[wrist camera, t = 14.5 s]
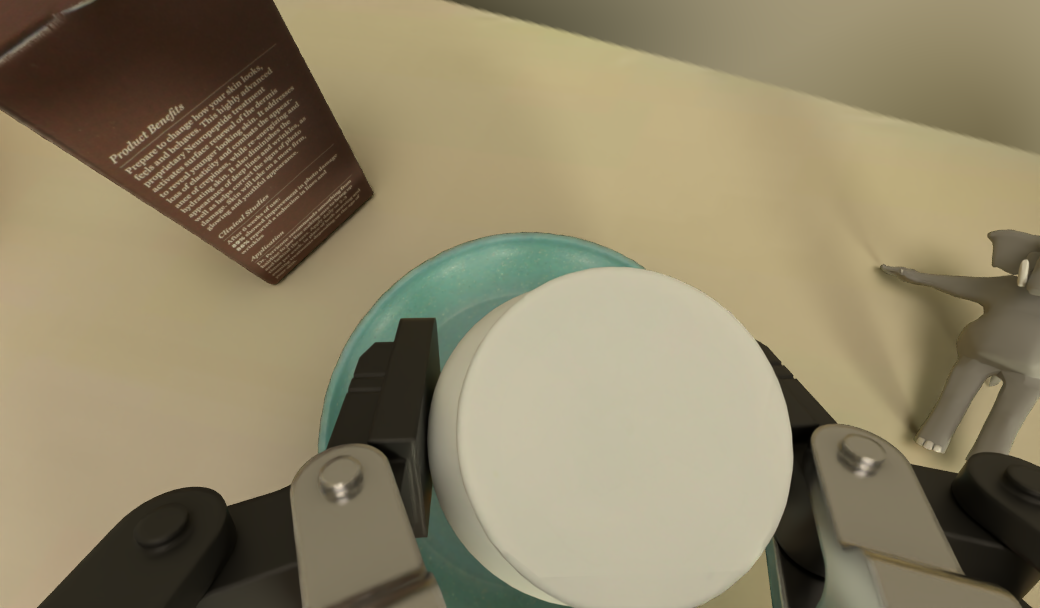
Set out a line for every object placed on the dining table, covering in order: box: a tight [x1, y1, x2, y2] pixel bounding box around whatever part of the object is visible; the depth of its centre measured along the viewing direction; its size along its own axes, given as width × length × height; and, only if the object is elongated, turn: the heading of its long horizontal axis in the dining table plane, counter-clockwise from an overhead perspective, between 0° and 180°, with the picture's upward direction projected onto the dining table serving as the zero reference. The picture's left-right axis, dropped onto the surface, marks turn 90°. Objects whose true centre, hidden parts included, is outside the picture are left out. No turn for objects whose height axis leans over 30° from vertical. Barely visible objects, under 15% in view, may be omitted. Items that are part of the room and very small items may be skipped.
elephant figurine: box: [880, 230, 1040, 460], centre depth 18 cm, size 10×6×9 cm
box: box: [0, 0, 374, 285], centre depth 15 cm, size 6×4×12 cm
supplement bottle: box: [427, 267, 793, 608], centre depth 10 cm, size 5×5×10 cm
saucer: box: [318, 232, 646, 608], centre depth 18 cm, size 15×15×3 cm
